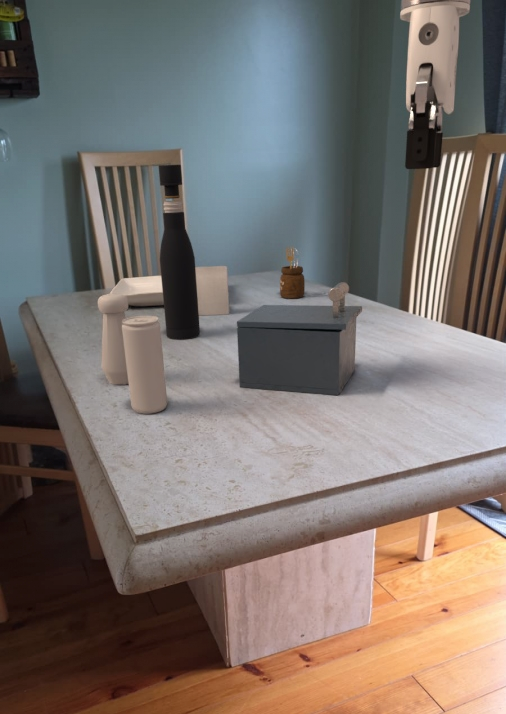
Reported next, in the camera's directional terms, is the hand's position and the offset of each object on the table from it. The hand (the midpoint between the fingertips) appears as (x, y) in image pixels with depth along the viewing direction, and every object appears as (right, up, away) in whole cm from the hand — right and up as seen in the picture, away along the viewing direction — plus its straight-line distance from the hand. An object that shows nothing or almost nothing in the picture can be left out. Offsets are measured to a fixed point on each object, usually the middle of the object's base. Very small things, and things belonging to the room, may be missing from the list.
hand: (423, 168), depth 76 cm
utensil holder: (-11, +3, +76) cm, 77 cm away
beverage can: (-35, -29, +7) cm, 46 cm away
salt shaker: (-41, -24, +19) cm, 51 cm away
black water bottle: (-34, -13, +44) cm, 57 cm away
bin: (-14, -24, +17) cm, 33 cm away
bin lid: (-14, -16, +13) cm, 25 cm away
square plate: (-42, +4, +80) cm, 90 cm away
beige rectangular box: (-30, -4, +62) cm, 69 cm away
